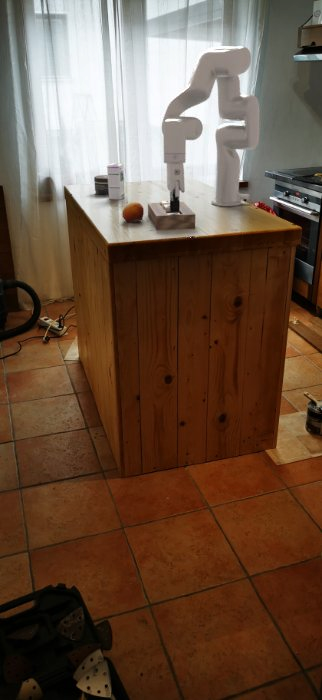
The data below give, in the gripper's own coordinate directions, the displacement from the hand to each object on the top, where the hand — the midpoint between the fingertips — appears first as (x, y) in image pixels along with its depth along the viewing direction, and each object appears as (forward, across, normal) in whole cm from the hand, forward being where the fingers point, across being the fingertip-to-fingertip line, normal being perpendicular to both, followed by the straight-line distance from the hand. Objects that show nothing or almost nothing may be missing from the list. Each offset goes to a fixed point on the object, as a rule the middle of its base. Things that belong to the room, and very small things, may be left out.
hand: (174, 211), depth 201 cm
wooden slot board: (+6, +6, 0) cm, 9 cm away
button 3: (+3, 0, 0) cm, 3 cm away
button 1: (+2, +14, 0) cm, 14 cm away
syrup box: (+6, +54, +16) cm, 57 cm away
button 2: (+2, +7, 0) cm, 7 cm away
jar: (+6, +66, +20) cm, 70 cm away
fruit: (+6, +10, +14) cm, 18 cm away
